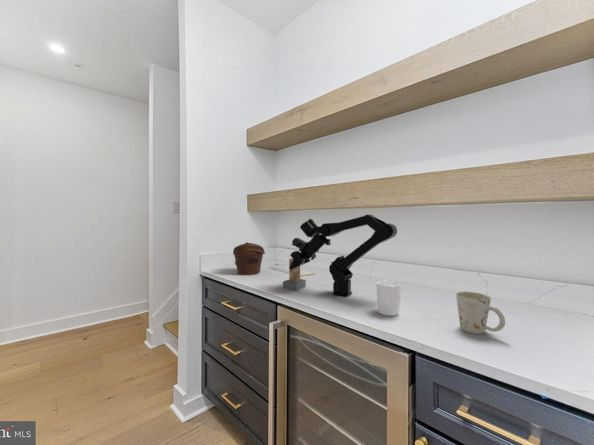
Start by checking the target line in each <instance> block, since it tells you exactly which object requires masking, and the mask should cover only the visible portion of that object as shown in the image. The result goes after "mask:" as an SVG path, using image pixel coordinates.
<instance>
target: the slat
mask: <svg viewBox="0 0 594 445" xmlns="http://www.w3.org/2000/svg"><path fill="white" fill-rule="evenodd" d="M288 260H289V261H288V262H289V264H288V265H289V266H288V267H290V265H291V263H292V261H293V258H292V257H291V258H289V259H288ZM300 270H301V266H298V267H296V268H293V269H291V270H290V269H289V274H288V277H289V279H288V280H289V282H294V283H296V282H299V281H300V279H301V277H300Z"/></svg>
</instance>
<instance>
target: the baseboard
mask: <svg viewBox="0 0 594 445" xmlns="http://www.w3.org/2000/svg"><path fill="white" fill-rule="evenodd" d="M270 269H271V270H274V271H278V272H281V273H286V274H288V275H289V266H288V265H279V264H278V263H277V264H275V265H273V266H271V267H270ZM314 275H316V273H315V272H311V271H309V270H303V269H300V278H301V277H308V276H309V277H310V276H314Z"/></svg>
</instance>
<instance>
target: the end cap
mask: <svg viewBox="0 0 594 445" xmlns="http://www.w3.org/2000/svg"><path fill="white" fill-rule="evenodd" d="M306 287H307V280H306V279H303V278H300V281H299V282H296V283H294V282H289V279H286V280H283V281H282V289H283V290H290V291H296V292H297V291H298V290H301V289H304V288H306Z"/></svg>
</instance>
